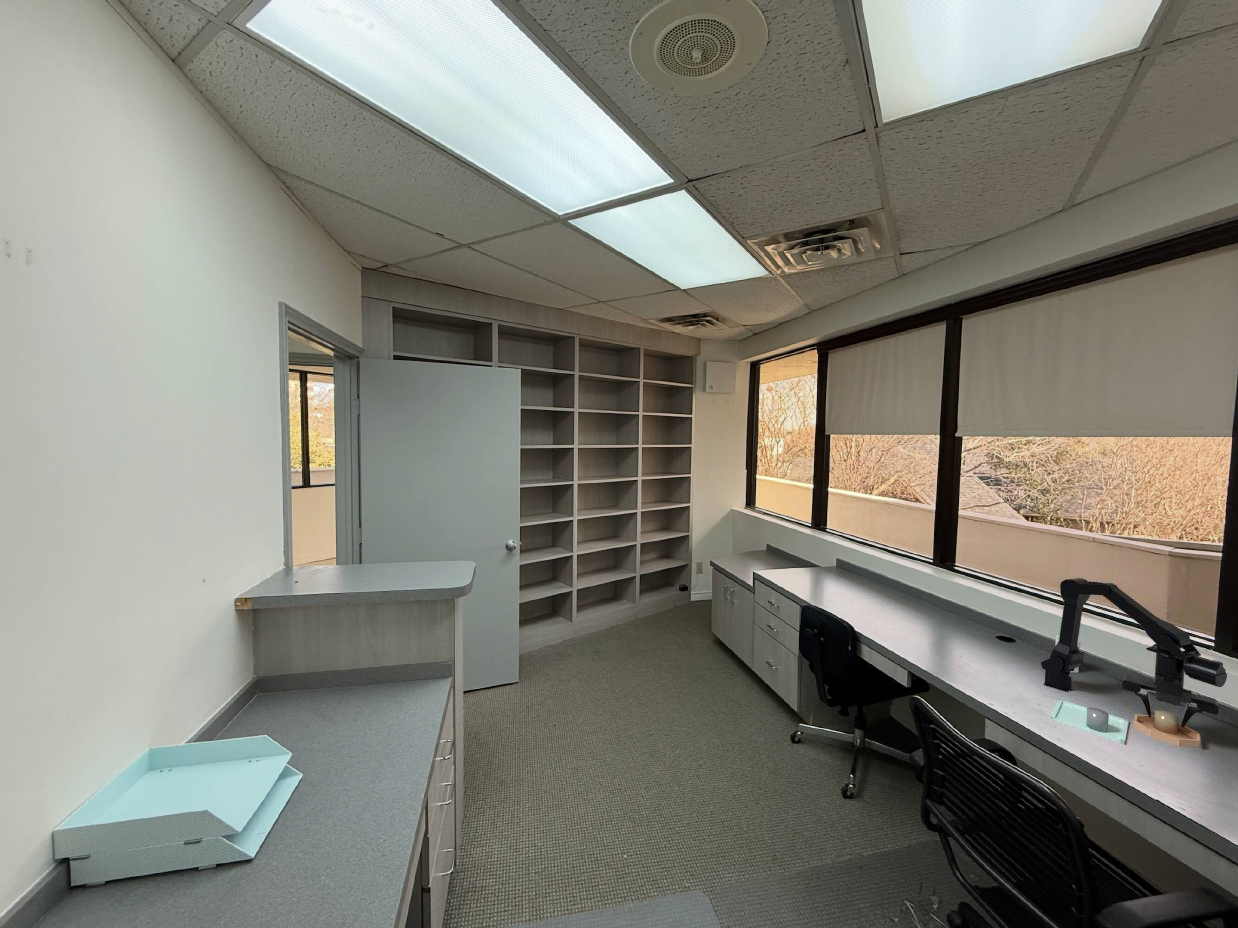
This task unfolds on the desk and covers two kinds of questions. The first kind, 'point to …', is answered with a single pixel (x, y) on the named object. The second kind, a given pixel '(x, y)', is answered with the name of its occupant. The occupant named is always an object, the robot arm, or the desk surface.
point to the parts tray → (1078, 716)
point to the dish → (1182, 738)
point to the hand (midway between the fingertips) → (1166, 721)
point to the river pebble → (1166, 721)
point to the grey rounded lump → (1097, 720)
